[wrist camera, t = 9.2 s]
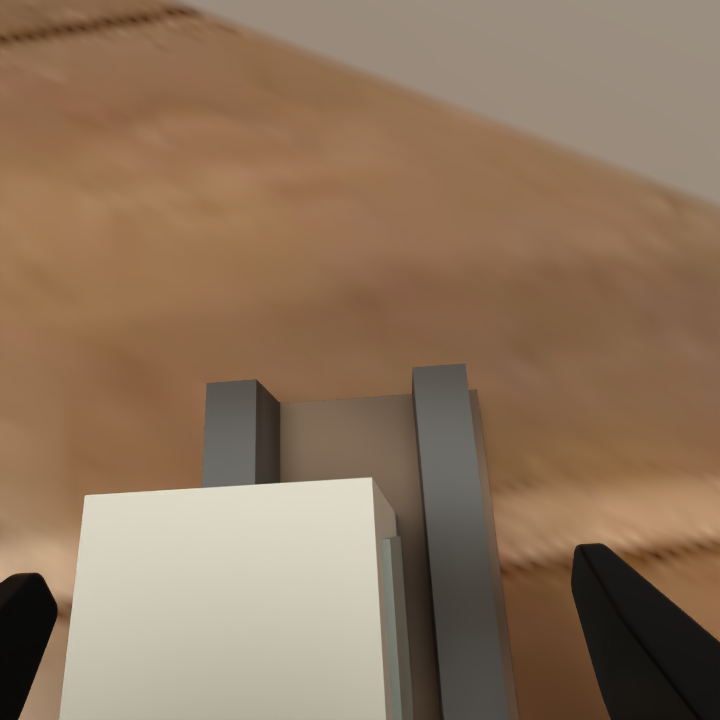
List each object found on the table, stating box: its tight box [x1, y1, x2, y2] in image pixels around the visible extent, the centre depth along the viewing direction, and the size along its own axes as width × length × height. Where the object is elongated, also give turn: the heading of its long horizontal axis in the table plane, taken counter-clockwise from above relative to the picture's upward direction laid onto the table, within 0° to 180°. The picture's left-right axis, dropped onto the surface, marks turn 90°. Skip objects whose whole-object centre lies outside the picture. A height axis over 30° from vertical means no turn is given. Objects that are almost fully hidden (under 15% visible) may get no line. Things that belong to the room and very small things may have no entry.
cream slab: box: [59, 477, 413, 720], centre depth 10 cm, size 5×3×12 cm, turn 3°
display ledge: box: [202, 364, 519, 720], centre depth 15 cm, size 13×9×4 cm
